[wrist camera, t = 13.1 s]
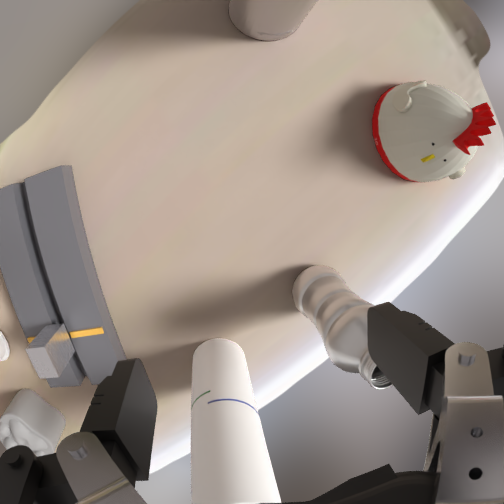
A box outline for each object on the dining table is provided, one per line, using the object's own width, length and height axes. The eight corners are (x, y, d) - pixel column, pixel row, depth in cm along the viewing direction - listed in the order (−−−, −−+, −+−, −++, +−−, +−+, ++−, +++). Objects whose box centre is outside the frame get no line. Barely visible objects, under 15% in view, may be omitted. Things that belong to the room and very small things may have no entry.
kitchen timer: (352, 129, 37) (425, 113, 22) (404, 67, 35) (475, 39, 21) (417, 201, 40) (494, 218, 26) (460, 137, 39) (534, 135, 25)
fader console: (-5, 194, 32) (-18, 196, 29) (71, 165, 33) (60, 165, 30) (57, 376, 39) (49, 388, 36) (130, 368, 40) (126, 382, 37)
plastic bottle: (344, 289, 42) (431, 369, 23) (301, 317, 42) (366, 416, 23) (323, 250, 40) (414, 316, 21) (278, 279, 40) (338, 370, 21)
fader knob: (54, 316, 36) (25, 348, 27) (71, 313, 36) (44, 346, 28) (64, 342, 37) (39, 378, 28) (82, 339, 37) (59, 377, 29)
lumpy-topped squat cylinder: (72, 419, 42) (57, 455, 33) (47, 446, 43) (34, 477, 34) (23, 381, 39) (2, 413, 30) (4, 413, 40) (-14, 442, 31)
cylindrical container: (250, 374, 43) (290, 528, 19) (201, 385, 42) (208, 542, 18) (238, 332, 41) (277, 494, 17) (185, 344, 40) (178, 509, 16)
